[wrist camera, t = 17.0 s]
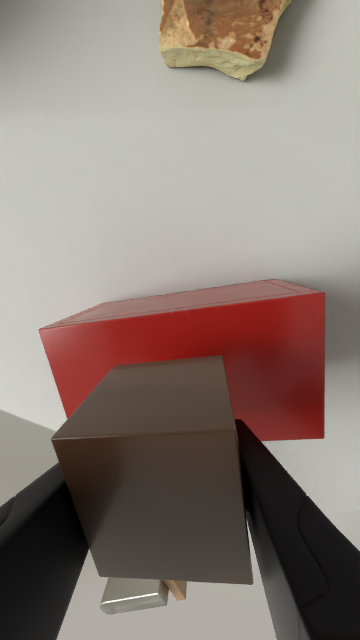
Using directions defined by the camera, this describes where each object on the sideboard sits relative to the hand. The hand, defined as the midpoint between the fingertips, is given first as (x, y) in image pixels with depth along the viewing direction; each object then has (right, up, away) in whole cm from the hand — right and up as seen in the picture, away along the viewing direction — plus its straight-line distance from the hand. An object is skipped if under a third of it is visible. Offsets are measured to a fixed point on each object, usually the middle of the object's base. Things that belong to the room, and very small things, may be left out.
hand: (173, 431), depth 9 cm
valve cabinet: (+1, +3, +11) cm, 11 cm away
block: (0, 0, +1) cm, 1 cm away
